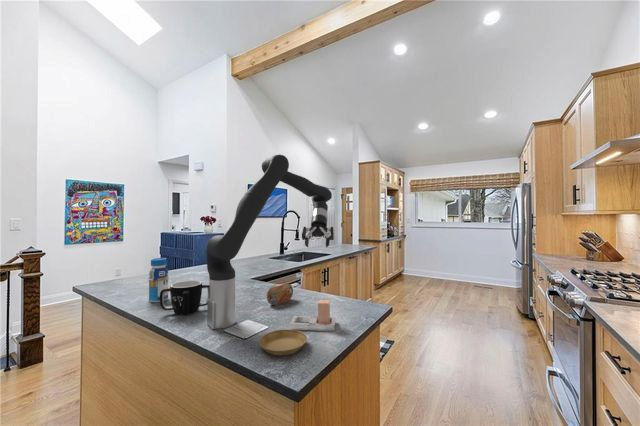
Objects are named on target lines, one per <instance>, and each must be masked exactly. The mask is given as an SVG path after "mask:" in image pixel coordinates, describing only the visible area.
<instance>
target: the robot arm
mask: <svg viewBox="0 0 640 426" xmlns="http://www.w3.org/2000/svg"><path fill="white" fill-rule="evenodd" d="M289 168H290V163H289V159H288V157H286V155H283V154H274V155H272V156H269V157H266V158H265V159H264V160H263V161H262V163H261V170H262V172H263V173H264V174H263V175H262V176H261V177H260V178H259V179H258V180H257V181H256V182H255V183H253V184H252V185H251V186H250V187H249V188H248V190H246V192H245V193H244V194H243V196H242V197H241V199H240V200H239V202H238V203H237V204H238V205H237V207H236V211H235V216H234V220H233V221H232V223H231V225H230V227H229V228H228V230H227V231H226V232H225V233H224V235H222V234H219V235H218V234H217V235H214V236H212V237H211V238H210V239H209V240H208V242H207V244H206V267H207V272H208V275H209V276H208V278H209V279H208V281H209V283H208V285H209V299H208V298H207V299H208V300H207V299H206V301H207V305H206V306H207V311H206V312H207V317H206V318H207V319H206V320H207V323H206V324H207V326H209V327H210V329H211V330H215V329H225V328H230V327H232V326H234V325H235V324H236V270H235V268H234V267H233V265H232V263H231V260H233V259H234V258H236V256H237V255H238V253H239V252H240V250H241V249H242V246H243V243H244V241H245V239H246V238H247V235H248V234H249V232H250V230H251V229H252V226H253V225H254V223H255V222H256V220H257V218H258V217H259V216H260V213H261V212H262V210H263V209H264V207H265V206H266V204H267V202H268V200H269V199H270V197H271V195H272V193H273V192H274V190H275V189H276V187H277V185H279V183H280V182H281V183H283V184H285V185H287V186H289V187H292V188H293V189H295V190H297V191H298V192H301V194H303V195H305V196H307V197H309V198H310V197H311V201H312V207H313V209H312V214H311V220H310V221H311V222H310V227H307V226H303V228H302V232H301V239H302V240H303V241H304V246H305V247H306V248H309V242H310V240H312V239H313V238H317V237H318V238H323V239H325V248H329V246H330V241H334V239H335V238H334V237H335V236H334V234H335V233H334V227H333V226H330V227H328V216H329V215H328V209H329V207H328V204H327V202H328V201H330V200H331V199H332V198H333V194H332V192H331V190H330V189H328V188H327V187H326V186H322V185H320V184H316V183H315V182H313V181H311V180H310V179H308V178H306V177H304V176H302V175H299V174H296V173H293V172H290V171H288V170H289ZM328 233H329V234H330V235H329V234H328Z"/></svg>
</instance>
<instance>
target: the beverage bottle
mask: <svg viewBox="0 0 640 426" xmlns="http://www.w3.org/2000/svg"><path fill="white" fill-rule="evenodd" d="M167 264H168V260H167V258H166V257H159V258H158V257H156V258H151V259H150V266H151V268H150V270H149V271H148V275H149V277H148V301H149V302H151V303H160V292H161V291H162V290H163V289H168V288H169V278H170V276H169V270H168V268H167ZM168 299H169V292H164V300H165V301H167V300H168Z"/></svg>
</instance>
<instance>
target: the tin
mask: <svg viewBox="0 0 640 426" xmlns="http://www.w3.org/2000/svg"><path fill="white" fill-rule="evenodd" d="M293 293H294V288H293V286H292V285H291V283H286V282H285V283H284V282H283V283H280V284H277V285H274V286H271V287H270V288H269V289H268V290H267V293H266V300H267V303H268V304H270V305H272V306H279V305H281V304H284V303H288V302H289V301H291V299H292V297H293Z"/></svg>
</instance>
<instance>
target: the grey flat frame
mask: <svg viewBox="0 0 640 426" xmlns="http://www.w3.org/2000/svg"><path fill="white" fill-rule="evenodd" d="M289 330H296V331H318V332H319V331H321V332H326V331H327V332H335V331H336V316H330V324H320V323H318V315H317V316H315V315H314V316H313V315H311V316H310V315H293V317H292V319H291V321H290V322H289Z"/></svg>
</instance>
